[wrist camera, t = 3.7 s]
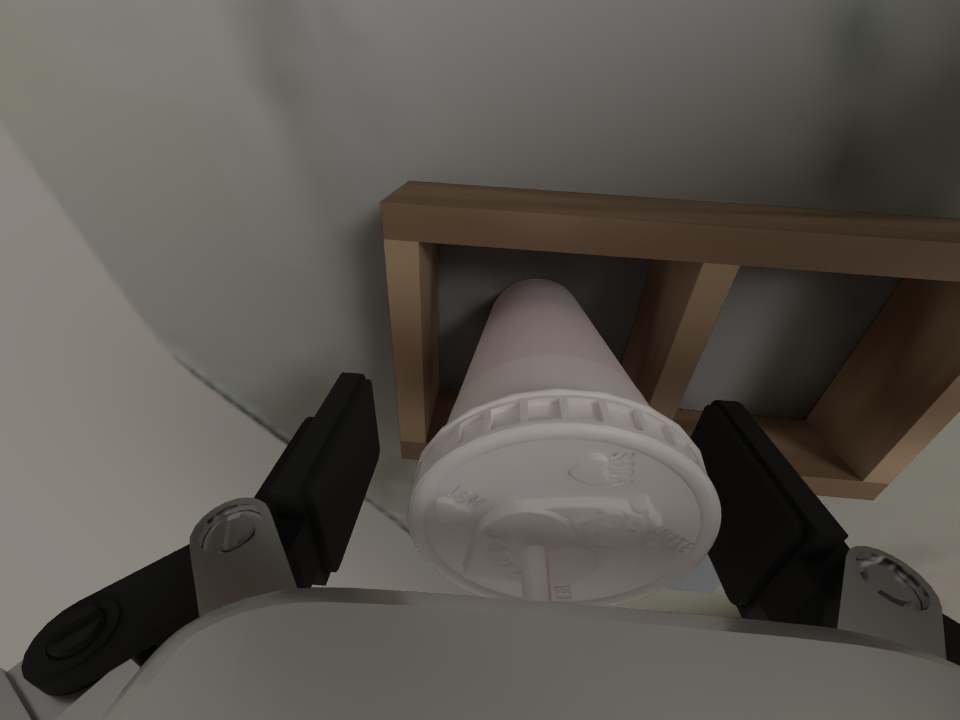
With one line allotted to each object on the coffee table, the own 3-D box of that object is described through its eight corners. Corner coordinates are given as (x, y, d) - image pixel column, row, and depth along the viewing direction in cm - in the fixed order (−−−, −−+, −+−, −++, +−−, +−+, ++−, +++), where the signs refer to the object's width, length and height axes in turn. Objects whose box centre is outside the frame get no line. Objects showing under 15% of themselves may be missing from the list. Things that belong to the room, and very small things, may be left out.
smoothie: (426, 299, 16) (188, 844, 4) (568, 207, 14) (923, 853, 2) (510, 403, 19) (507, 910, 7) (640, 341, 16) (969, 947, 5)
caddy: (408, 181, 13) (380, 202, 10) (975, 220, 13) (1111, 254, 10) (418, 403, 19) (401, 458, 16) (815, 437, 18) (873, 500, 15)
